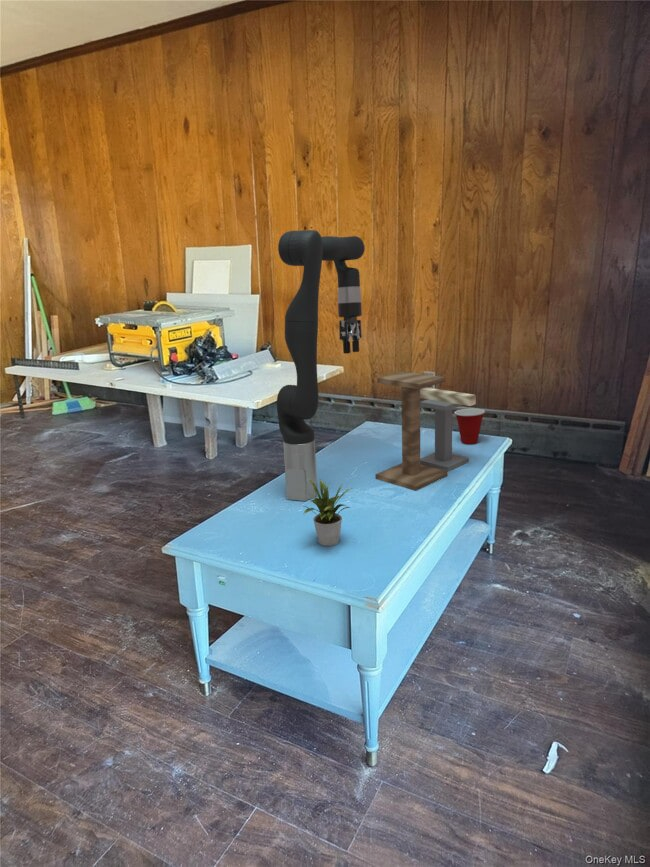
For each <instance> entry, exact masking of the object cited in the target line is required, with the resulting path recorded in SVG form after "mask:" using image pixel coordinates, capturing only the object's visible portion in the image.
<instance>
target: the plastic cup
mask: <svg viewBox="0 0 650 867" xmlns="http://www.w3.org/2000/svg"><path fill="white" fill-rule="evenodd" d="M485 411H486V410H485V409H482V408H481V409H480V408H463V409H458V410H456V411H454V416H455V417H456V420H457V425H458V432H459V437H460V442H461V444H464V445H476V444H478V441H479V436H480V434H481V426H482V422H483V417H484V414H485V413H486V412H485Z"/></svg>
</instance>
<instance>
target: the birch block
mask: <svg viewBox="0 0 650 867" xmlns="http://www.w3.org/2000/svg"><path fill="white" fill-rule="evenodd" d="M420 399H425V400H428V399H430V400H436V401H442V402H448V403H454V404H460V405H461V406H468V407H473V406H475V405H476V404H477V403H476V402H477V401H476V400H477V395H476V394H472V393H466V392H459V391H452V390H447V389H446V390H445V389H439V388H438V389H437V388H433V387H432V388H431V387H426V388H423V389H420Z"/></svg>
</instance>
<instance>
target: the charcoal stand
mask: <svg viewBox="0 0 650 867" xmlns="http://www.w3.org/2000/svg"><path fill="white" fill-rule="evenodd" d="M461 406H462V405H460V404H454V403H448V402H442V401H436V400H430V399H425V400H420V408H428V409H432V410H434V452H433V453H431V454H428V455H425V456H424V457H422V458H421V457H420V464H421V465H425V466H429V467H433V468H436V469H440V470H444V471H449V472H451V471H453V470H454V469H458V468H459V467H461V466H464V465H466V464H469V463H470V457H467V456H464V455H458V454H454V453H453V410H454V409H456V408H459V407H461ZM450 470H451V471H450Z"/></svg>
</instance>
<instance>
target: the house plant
mask: <svg viewBox="0 0 650 867" xmlns="http://www.w3.org/2000/svg"><path fill="white" fill-rule="evenodd" d="M306 479H307V478H306ZM308 480H309V481H310V482H311V484H312V485H313V487H314V490H315V492H316V494H317V497H314V498H312V497H311V499H310V502H311V503H313V504H315V506H316V507H317V508H318V509H316V508H314V507H311V508H310V507H308V506H306V505H303V508H304V507H305V508H306V509H305V510H304V512H303V515H305V514H307V513H308V512H313V513H314V514H316V515H314V517H313V518H312V519H313V524H314V528H315V532H316V536H317V540H318V544H319V545H322V546H325V547H330V546H332V547H333V546H335V545H337V544H339V542H340V536H341V530H342V520H343V517H342V515H341V514H340V512H342V511H343V510H345V509H351V507H350V506H347V505H346V504H344V503H343V504H341V503H340V504H337V503H338V501H340V499H341V498H342V497H343V496H344V495H345V494H346V493H347V492H349V491H350V490H353V489H354V487H349V488H348V489H346V490H345V491H344V492H343V493H342V494H341V495H339V494H340V491H341V489H342V486H343V483H341V485H340V486H339V488H338V489H337V492H336V494H335V495H334V496H332V497H330V495H329V485H330V483H331V481H329V482H328V485H327V484H326V483H325V481H322V479H319V486H320V487H319V489H320V490H319V489H318V486H317V487H316V485H315V484H314V482H312V481H311V480H310V479H308ZM304 491H305V490H304ZM319 491H320V492H319ZM308 493H309V492H308ZM308 495H309V494H308ZM343 506H345V507H343ZM340 507H343V508H341V509H340V510H339V508H340ZM314 510H316V511H317V512H319V513H317V512H315V511H314ZM338 510H339V511H338ZM337 511H338V513H336V512H337Z"/></svg>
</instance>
